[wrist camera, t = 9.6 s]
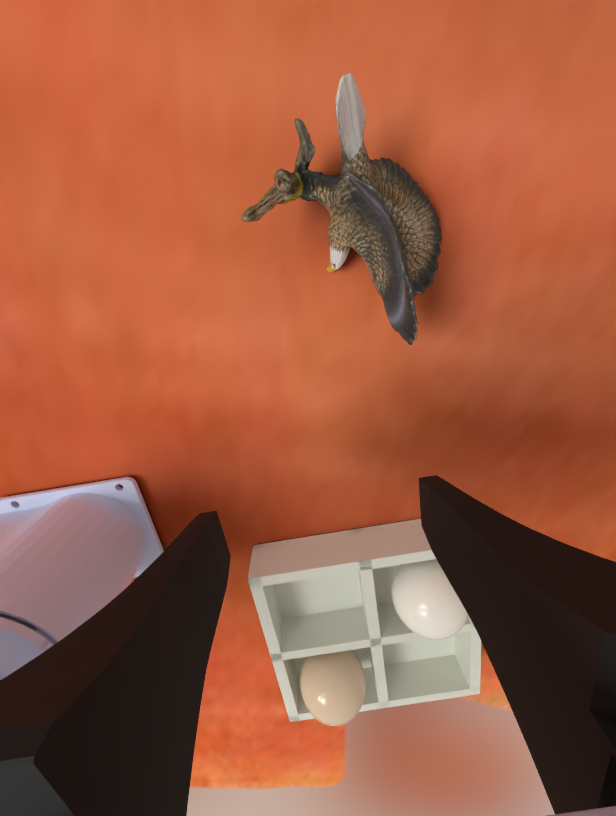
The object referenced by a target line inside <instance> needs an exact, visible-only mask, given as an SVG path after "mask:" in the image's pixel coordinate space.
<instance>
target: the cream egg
mask: <svg viewBox="0 0 616 816" xmlns="http://www.w3.org/2000/svg"><path fill="white" fill-rule="evenodd" d="M391 594H392V601H393V604H394V607H395V610H396V612H397V614H398V616H399V617H400V619H401V620H402V622H403V623H404V624H405V625H406V626H407V627H408V628H409V629H410V630H411V631H413V632H414V633H416V634H417V635H419V636H421V637H424V638H427V639H431V640H443V639H447V638H450V637H452V636H454V635H455V634H457V633H458V632H459V631H460V630H461V629H462V627H463V626H464V624H465V622H466V620H467V617H468V613H467V612H466V610H465V608H464V606H463V605H462V603H461V601H460V599H459V598H458V596H457V594H456V593H455V591H454V589H453V587H452V586H451V584H450V582H449V580H448V579H447V577H446V575H445V573H444V572H443V570H442V568H441V566H440V565H439V563H438V561H437V559H433V560H427V561H420V562H414V563H408V564H401V566H400V567H399V568H398V569H397V571H396V573H395V575H394V577H393V581H392V587H391Z"/></svg>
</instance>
